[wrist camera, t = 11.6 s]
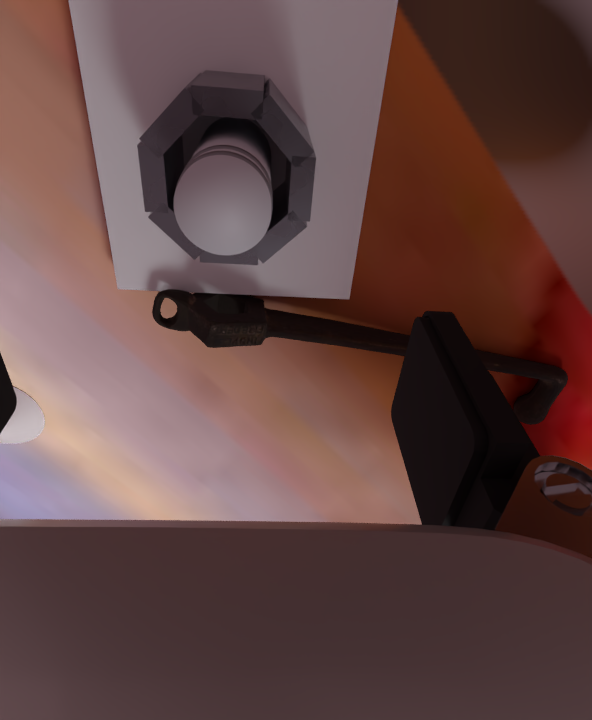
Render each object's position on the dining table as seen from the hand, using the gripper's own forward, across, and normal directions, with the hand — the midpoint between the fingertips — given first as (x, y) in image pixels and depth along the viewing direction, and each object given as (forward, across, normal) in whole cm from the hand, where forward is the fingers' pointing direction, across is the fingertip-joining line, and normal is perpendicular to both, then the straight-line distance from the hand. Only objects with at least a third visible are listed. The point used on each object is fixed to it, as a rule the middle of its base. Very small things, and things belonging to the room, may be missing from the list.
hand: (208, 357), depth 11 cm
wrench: (+19, -9, +13) cm, 25 cm away
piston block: (+18, 0, 0) cm, 18 cm away
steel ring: (+17, 0, 0) cm, 17 cm away
